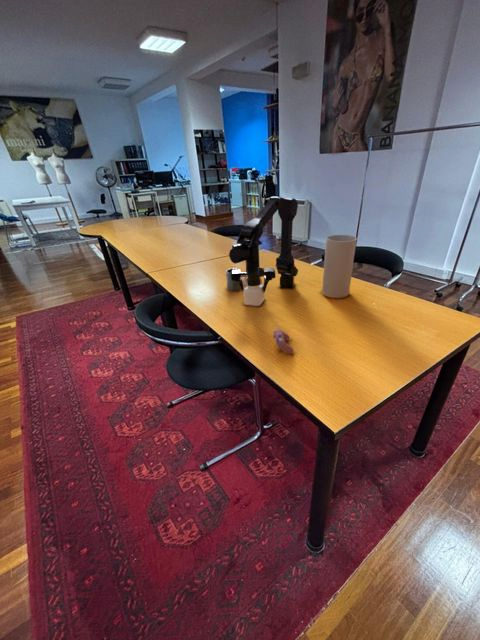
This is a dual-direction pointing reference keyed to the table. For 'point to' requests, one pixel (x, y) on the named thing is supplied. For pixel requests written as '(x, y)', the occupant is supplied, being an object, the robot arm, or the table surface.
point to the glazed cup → (232, 284)
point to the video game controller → (282, 341)
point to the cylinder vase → (338, 265)
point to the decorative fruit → (246, 284)
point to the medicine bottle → (253, 293)
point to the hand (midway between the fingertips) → (253, 293)
